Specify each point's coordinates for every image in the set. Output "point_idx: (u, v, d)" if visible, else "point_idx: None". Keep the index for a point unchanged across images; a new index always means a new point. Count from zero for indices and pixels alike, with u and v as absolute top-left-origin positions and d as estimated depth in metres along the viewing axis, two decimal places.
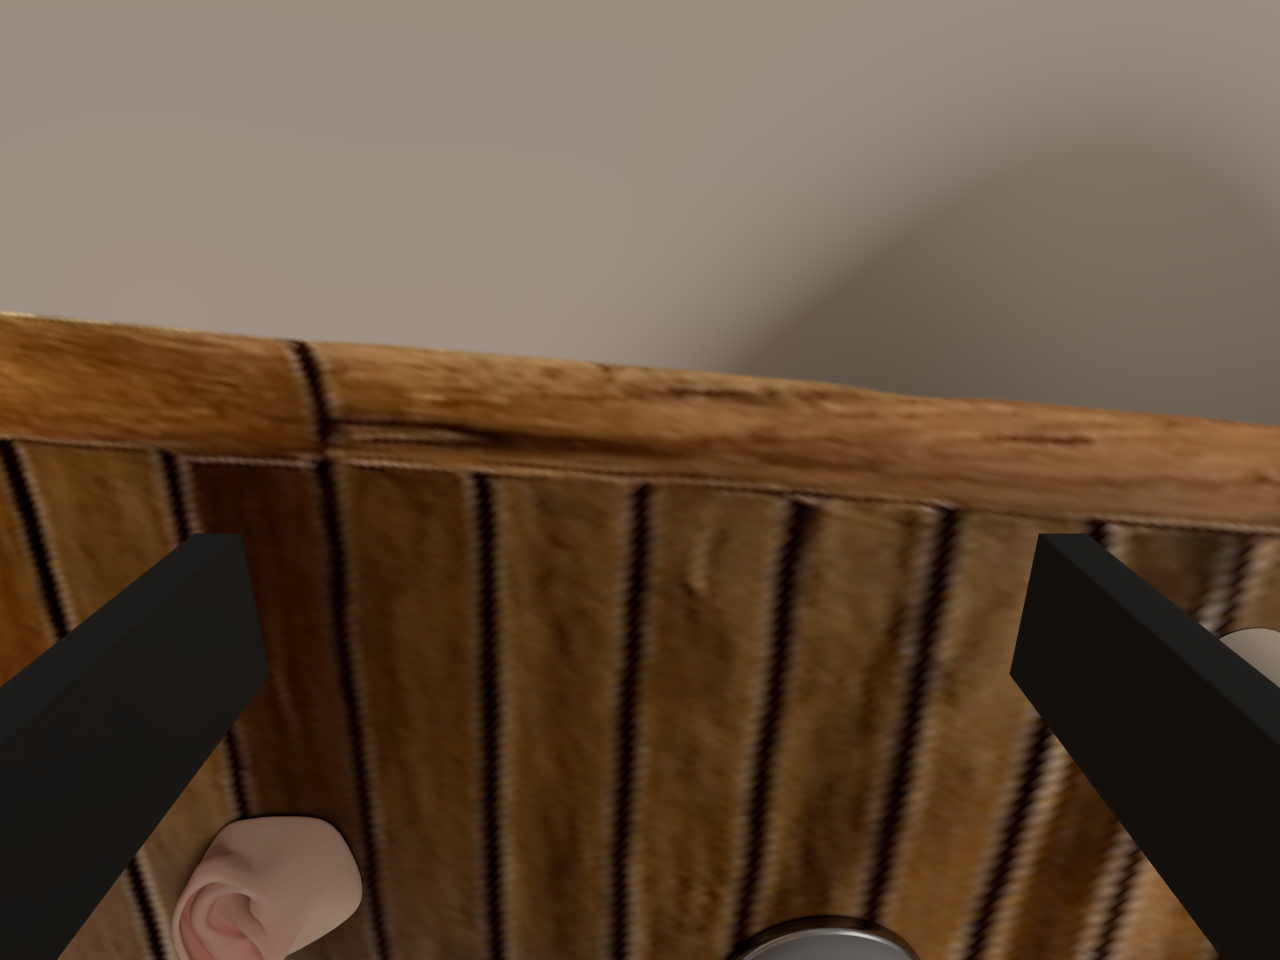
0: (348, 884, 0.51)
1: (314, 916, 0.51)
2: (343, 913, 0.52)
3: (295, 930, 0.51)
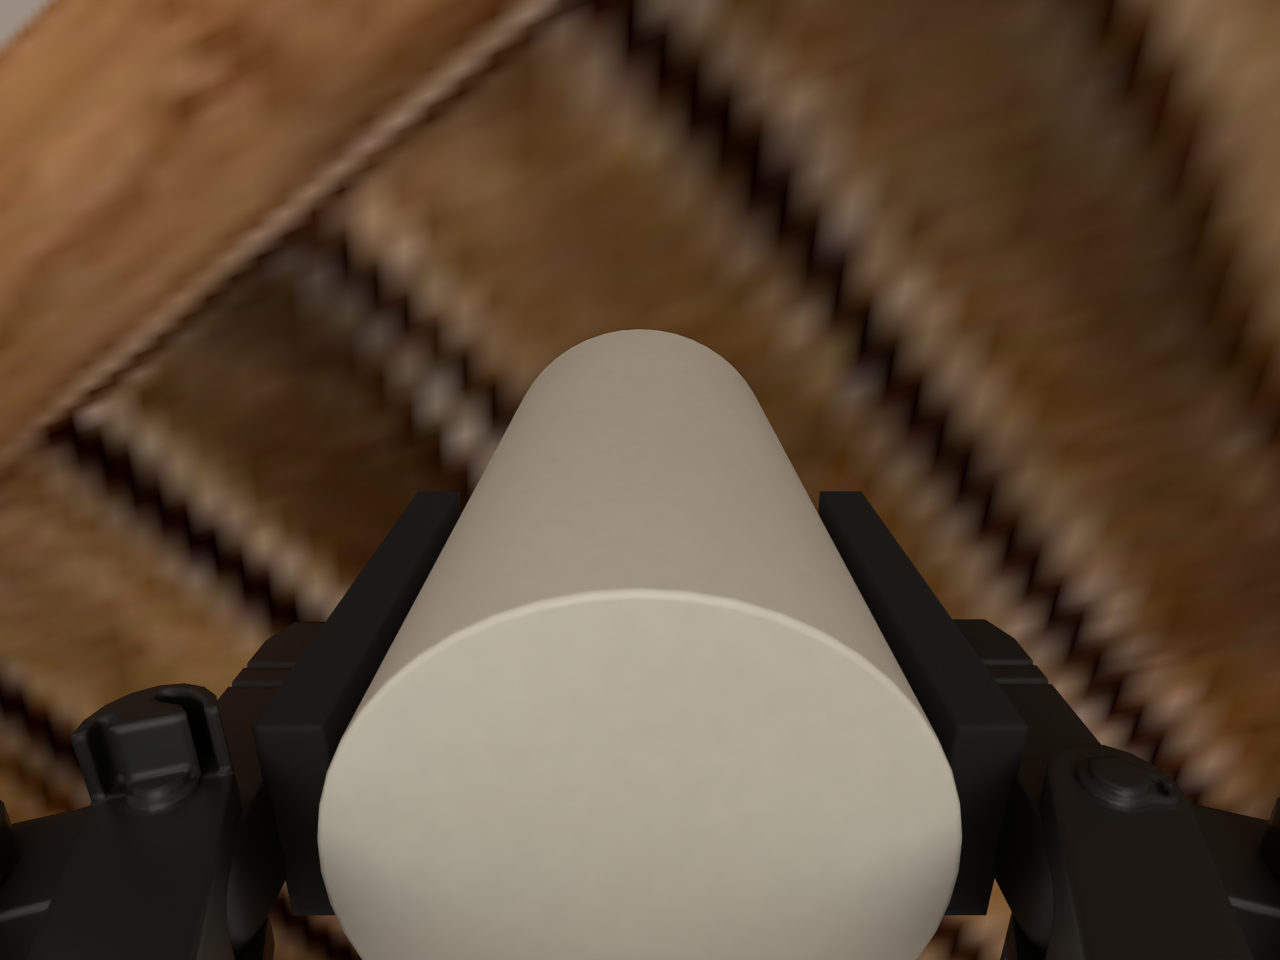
0: None
1: None
2: None
3: None
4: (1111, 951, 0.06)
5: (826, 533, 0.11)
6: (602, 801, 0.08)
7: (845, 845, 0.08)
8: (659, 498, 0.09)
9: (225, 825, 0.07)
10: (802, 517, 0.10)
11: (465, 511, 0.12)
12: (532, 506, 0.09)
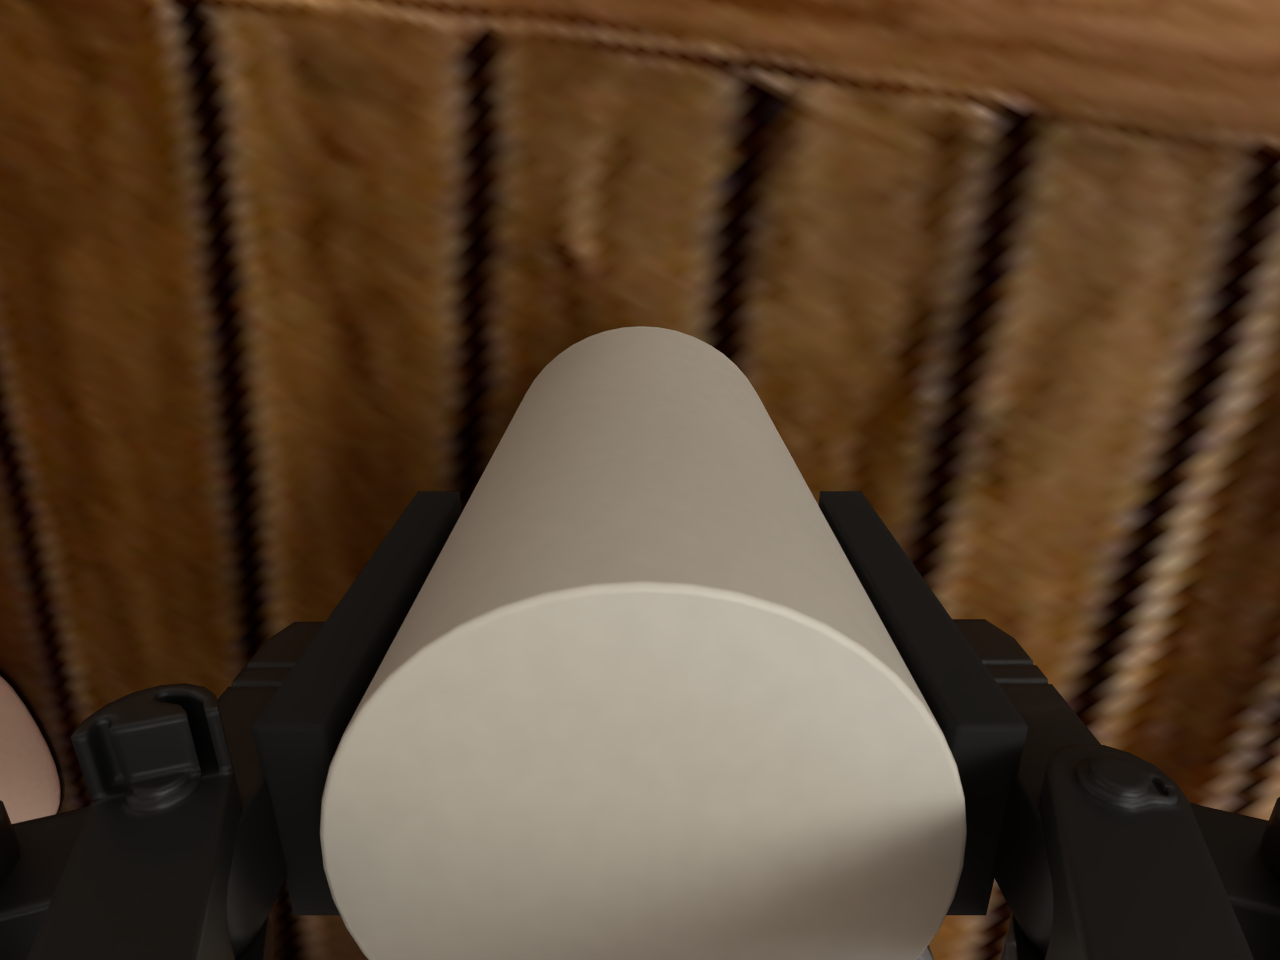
0: (29, 773, 0.32)
1: None
2: None
3: None
4: (1110, 951, 0.06)
5: (829, 529, 0.11)
6: (605, 796, 0.08)
7: (849, 841, 0.08)
8: (662, 492, 0.09)
9: (225, 825, 0.07)
10: (805, 512, 0.10)
11: (467, 507, 0.11)
12: (535, 501, 0.09)
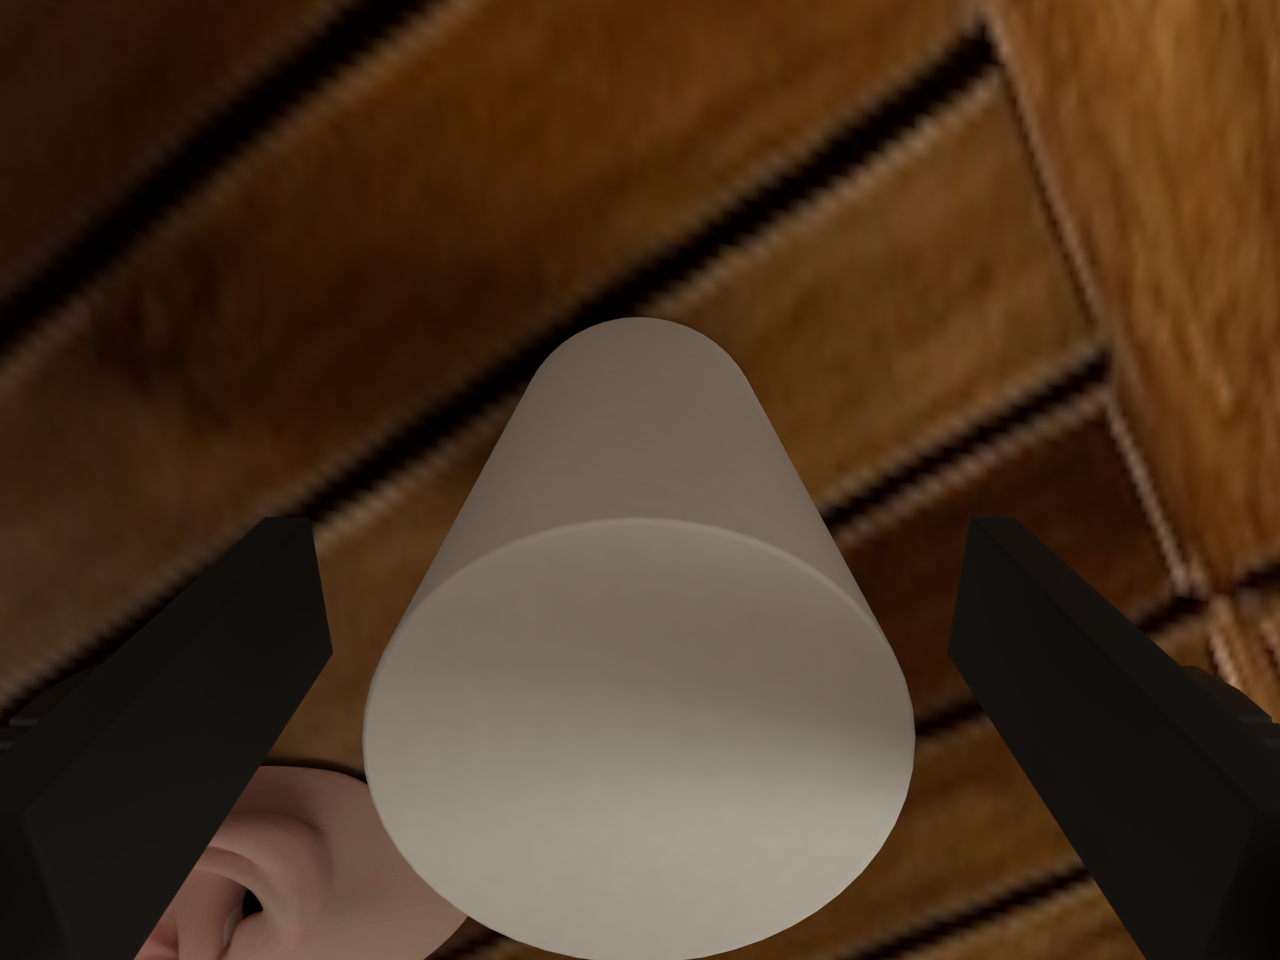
0: None
1: None
2: None
3: None
4: None
5: (805, 492, 0.12)
6: (606, 705, 0.09)
7: (814, 744, 0.09)
8: (656, 452, 0.10)
9: None
10: (783, 474, 0.11)
11: (482, 474, 0.13)
12: (544, 460, 0.10)
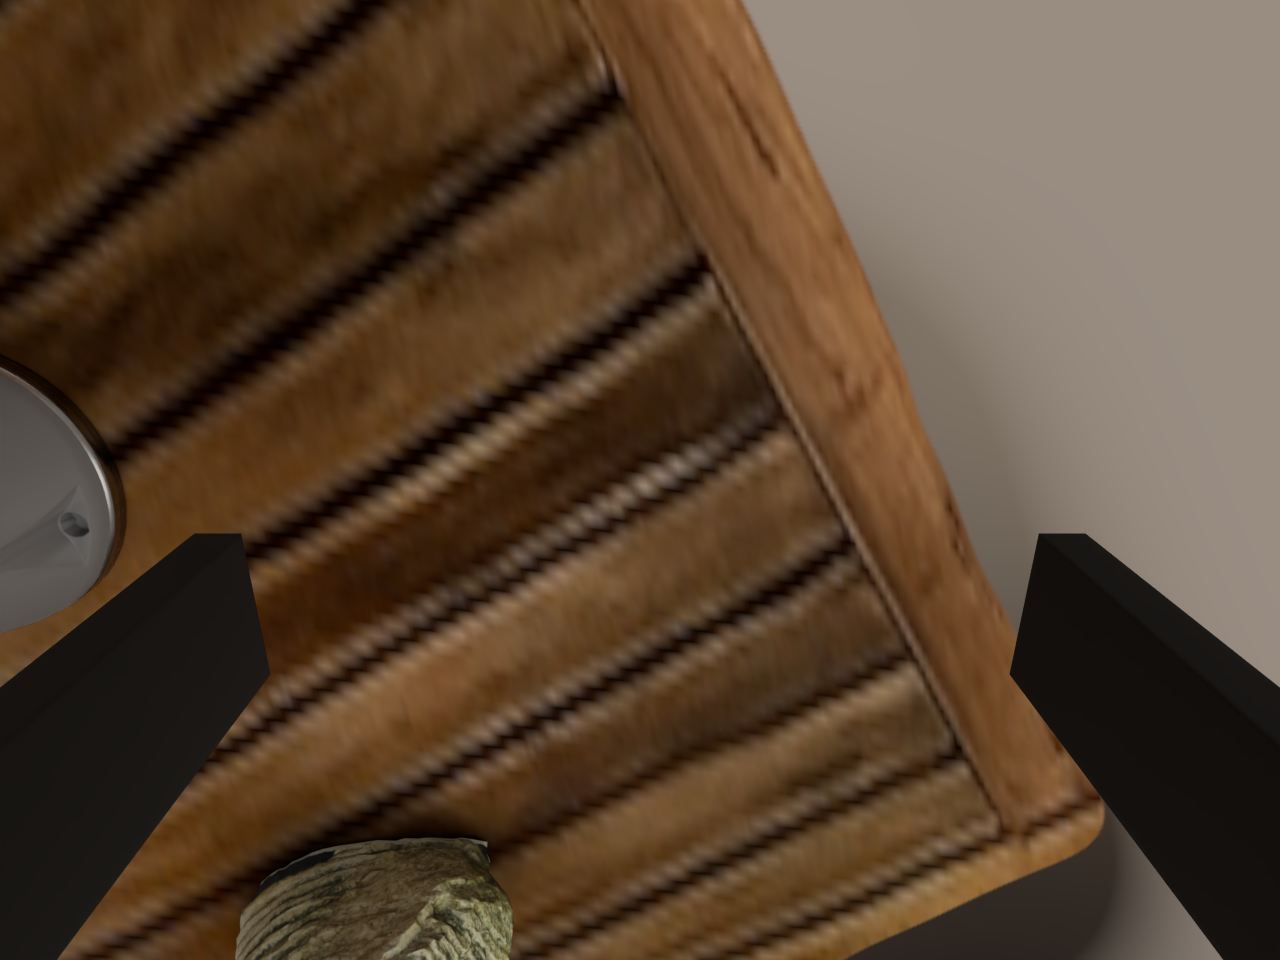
0: None
1: None
2: None
3: None
4: None
5: None
6: None
7: None
8: None
9: None
10: None
11: None
12: None
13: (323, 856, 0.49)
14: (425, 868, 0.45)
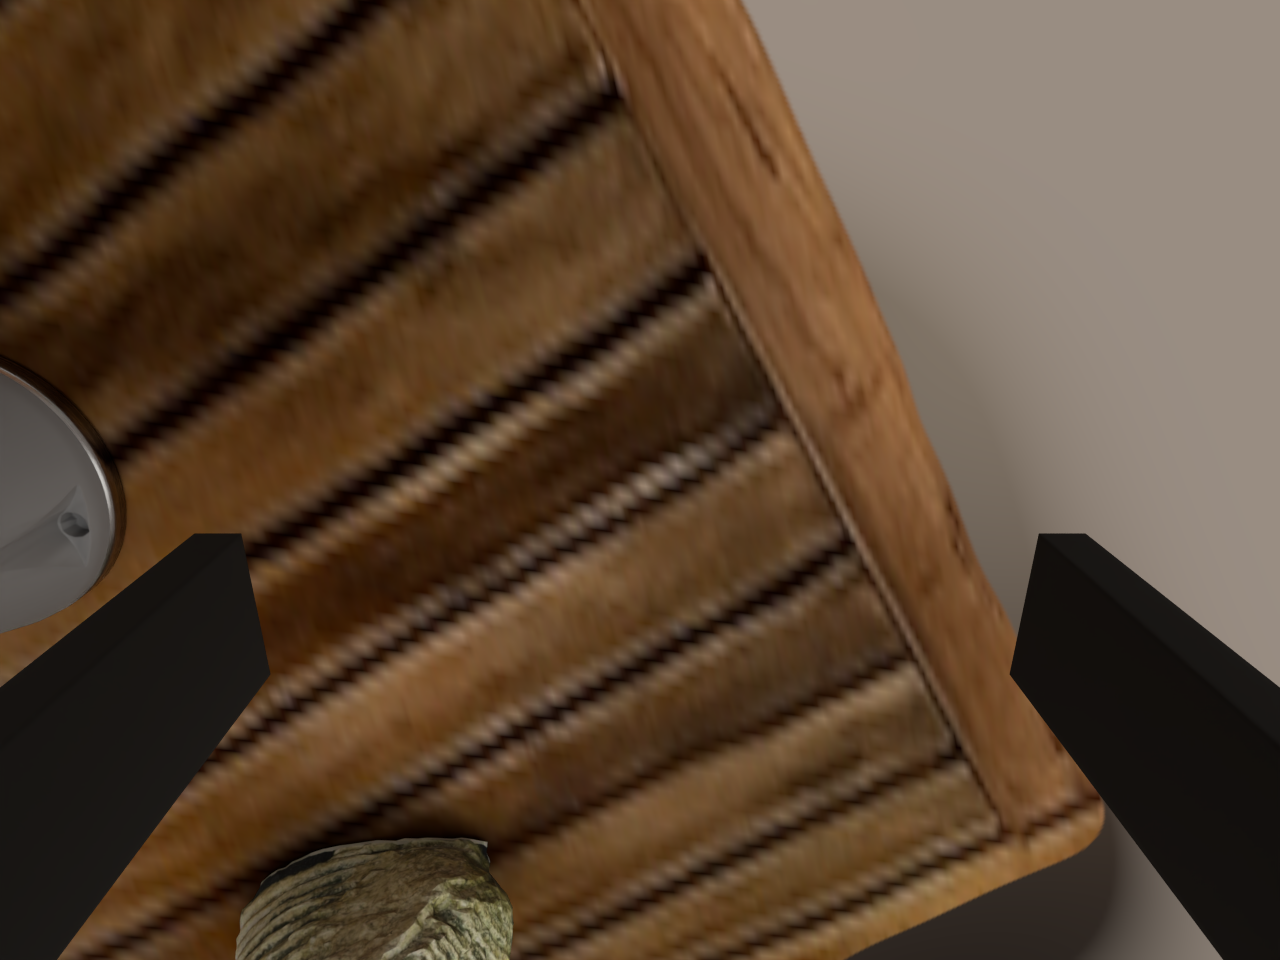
0: None
1: None
2: None
3: None
4: None
5: None
6: None
7: None
8: None
9: None
10: None
11: None
12: None
13: (323, 856, 0.49)
14: (425, 868, 0.45)
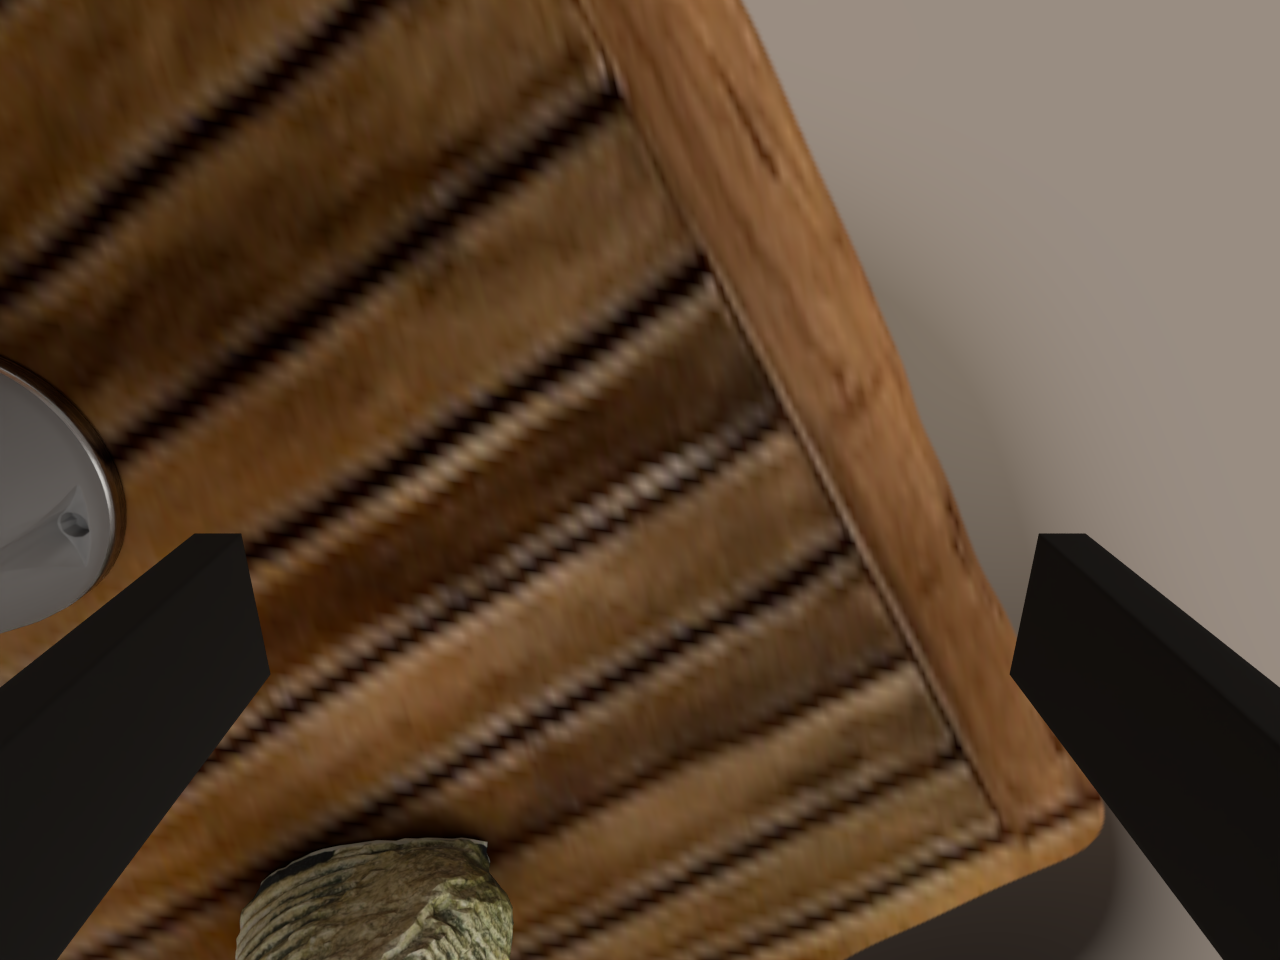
0: None
1: None
2: None
3: None
4: None
5: None
6: None
7: None
8: None
9: None
10: None
11: None
12: None
13: (323, 856, 0.49)
14: (425, 868, 0.45)
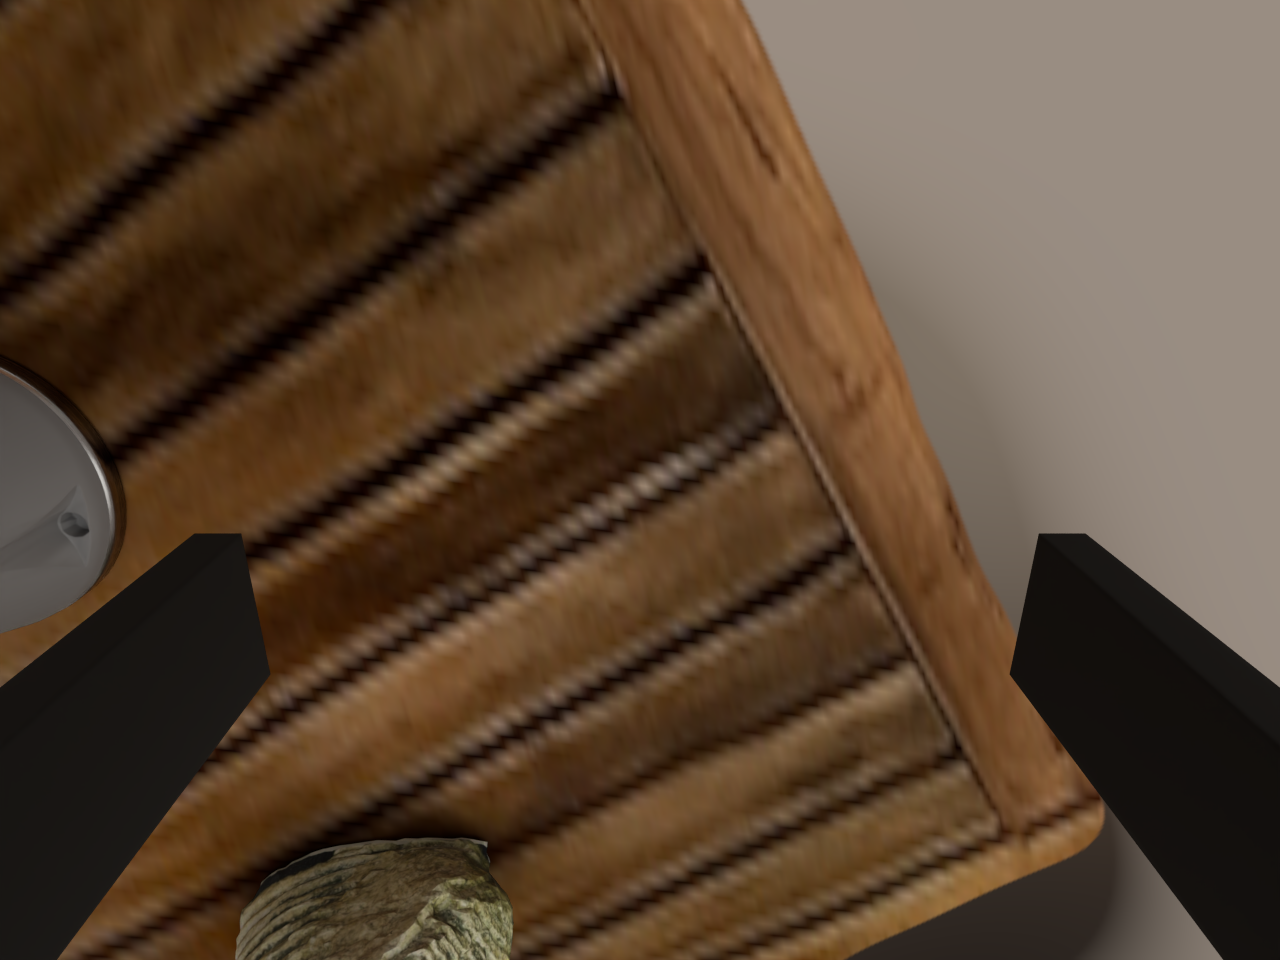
0: None
1: None
2: None
3: None
4: None
5: None
6: None
7: None
8: None
9: None
10: None
11: None
12: None
13: (323, 856, 0.49)
14: (425, 868, 0.45)
